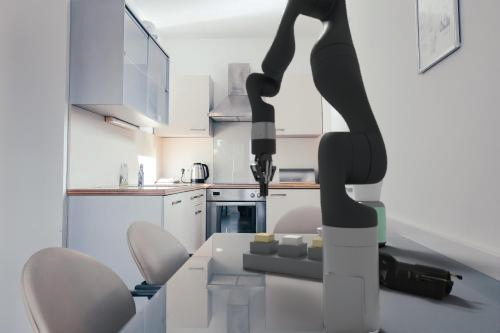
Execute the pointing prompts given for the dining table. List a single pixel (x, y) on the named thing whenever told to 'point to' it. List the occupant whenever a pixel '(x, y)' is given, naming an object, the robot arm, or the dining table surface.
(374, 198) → the juicer
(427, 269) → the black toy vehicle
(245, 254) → the console
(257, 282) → the dining table surface
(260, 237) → the gold square block
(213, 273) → the dining table surface
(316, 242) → the brass metal cube
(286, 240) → the white square block
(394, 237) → the dining table surface
